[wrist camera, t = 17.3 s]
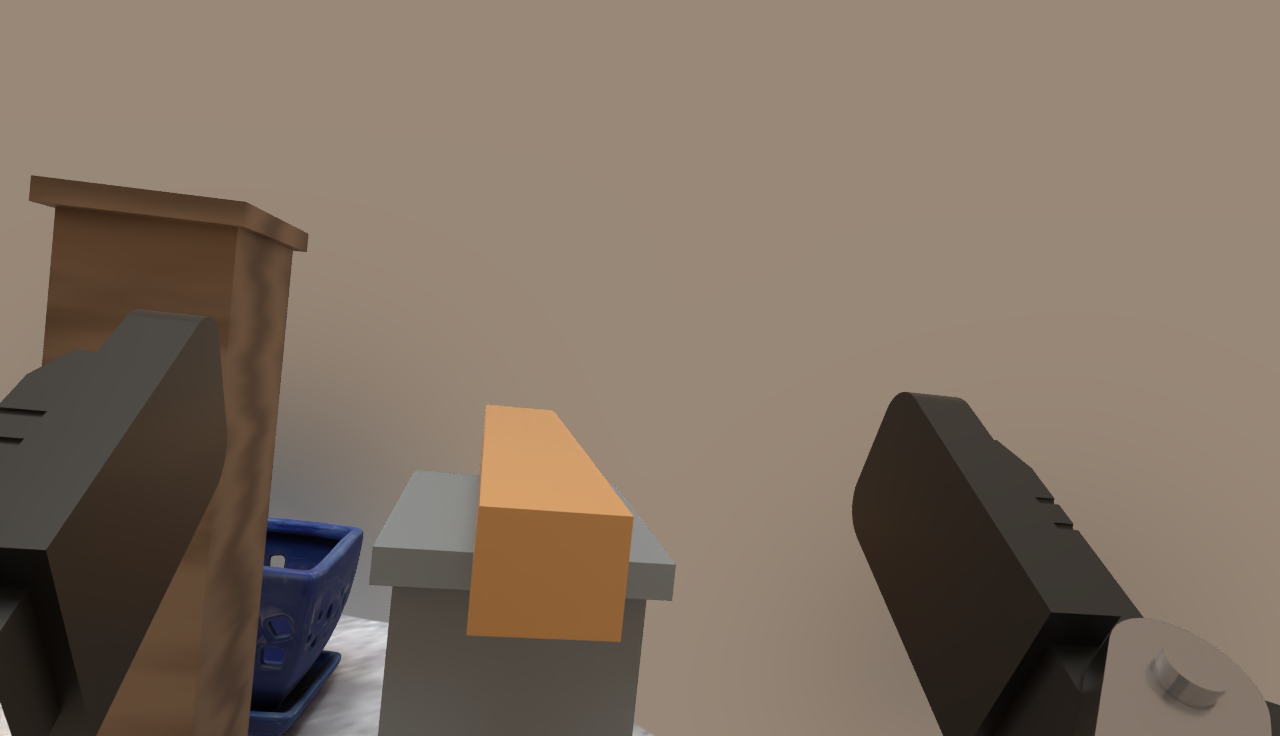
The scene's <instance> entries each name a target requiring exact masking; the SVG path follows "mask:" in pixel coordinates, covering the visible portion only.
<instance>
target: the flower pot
mask: <svg viewBox="0 0 1280 736" xmlns="http://www.w3.org/2000/svg"><path fill="white" fill-rule="evenodd" d="M362 540H363V531H362V530H361V529H359V528H356V527H350V526H342V525H335V524H328V523H320V522H309V521H300V520H291V519H280V518H269V517H268V523H267V533H266V544H265V555H264V566H263V576H262V587H261V598H260V609H259V619H258V630H257V641H256V652H255V662H254V673H253V684H252V695H251V705H250V716H249V727H248V736H281V735H282V734H283V733H285V732H286V731H287V730H288V729H289V728H290V727H291V725H292V724H293V723H294V722H295V720H296V719H297V718H298V717H299V715H300V714H301V713H302V712H303V710H304V709H305V708H306V707H307V705H308V704H309V703H310V701H311V700H312V699H313V698H314V696H315V695H316V694H317V692H318V691H319V690H320V688H321V687H322V686H323V685H324V683H325V682H326V681H327V679H328V678H329V677H330V675H331V674H332V673H333V671H334V670H335V668H336V667H337V665H338V664H339V661H340V659H341V654H340V653H338V652H332V651H324V650H323V649H324V647H325V645H326V644H327V642H328V640H329V639H330V637H331V635H332V633H333V631H334V629H335V627H336V625H337V623H338V621H339V619H340V616H341V613H342V611H343V609H344V606H345V604H346V602H347V599H348V596H349V593H350V590H351V587H352V583H353V580H354V576H355V573H356V569H357V565H358V560H359V556H360V551H361V546H362ZM275 555H282V556H284V557H285V565H284V568H279V567H270V560H271V557H272V556H275Z"/></svg>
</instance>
